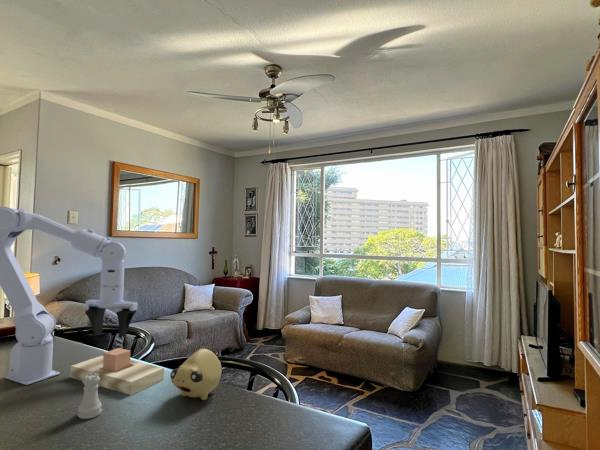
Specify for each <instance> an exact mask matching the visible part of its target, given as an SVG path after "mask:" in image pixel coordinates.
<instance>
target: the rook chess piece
mask: <svg viewBox="0 0 600 450" xmlns="http://www.w3.org/2000/svg"><path fill="white" fill-rule="evenodd" d="M98 375H99V374H96V373H93V375H91V373H90V374H89V375H88V376H87V375H85V376H84V379H83V381H82V383H83V385H84V387H83V388H82V389H83V398H82V401H81V403H80V405H79V406H78V409H77V411H78V412H77V414H76V415H77V417H78V418H79V419H81V420H88V419H89V420H90V419H93V418H96V417H98V416H99V415H100V414H101V413H102V412H103V408H102V407H103V405H102V404H103V403H102V402H101V400H100V399H99V393H98V389H99V387H100V386H98V382H99V380H100V377H99V376H98Z"/></svg>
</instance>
